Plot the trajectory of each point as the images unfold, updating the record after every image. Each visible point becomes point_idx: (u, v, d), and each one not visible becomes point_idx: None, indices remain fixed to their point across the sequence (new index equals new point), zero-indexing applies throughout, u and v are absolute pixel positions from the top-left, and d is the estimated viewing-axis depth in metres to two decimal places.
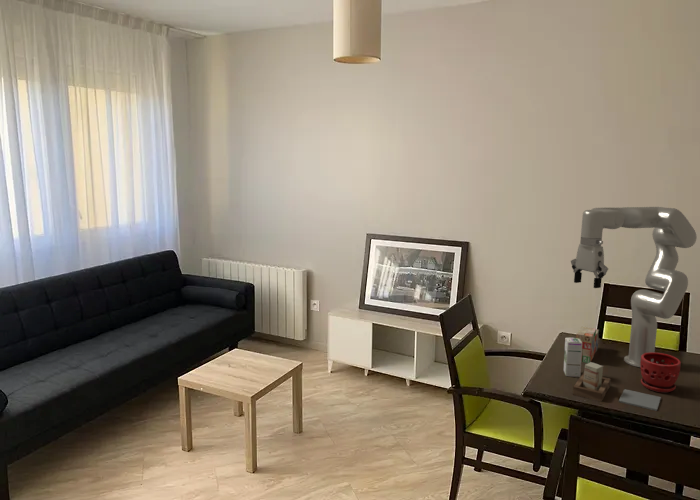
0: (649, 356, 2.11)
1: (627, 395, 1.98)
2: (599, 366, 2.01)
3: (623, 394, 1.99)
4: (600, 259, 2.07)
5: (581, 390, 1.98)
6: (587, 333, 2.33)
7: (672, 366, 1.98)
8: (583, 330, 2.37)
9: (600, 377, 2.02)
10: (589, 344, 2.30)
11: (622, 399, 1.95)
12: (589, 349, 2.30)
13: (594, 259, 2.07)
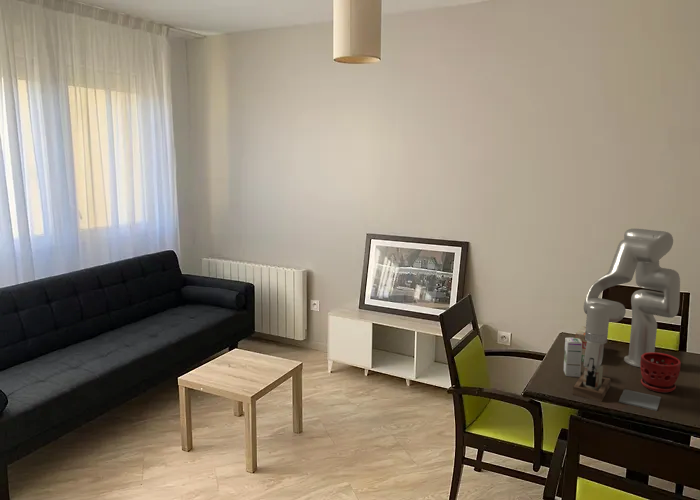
0: (649, 356, 2.11)
1: (627, 395, 1.98)
2: (599, 366, 2.01)
3: (623, 394, 1.99)
4: None
5: (581, 390, 1.98)
6: None
7: (672, 366, 1.98)
8: (582, 329, 2.38)
9: (600, 377, 2.02)
10: None
11: (622, 399, 1.95)
12: None
13: None
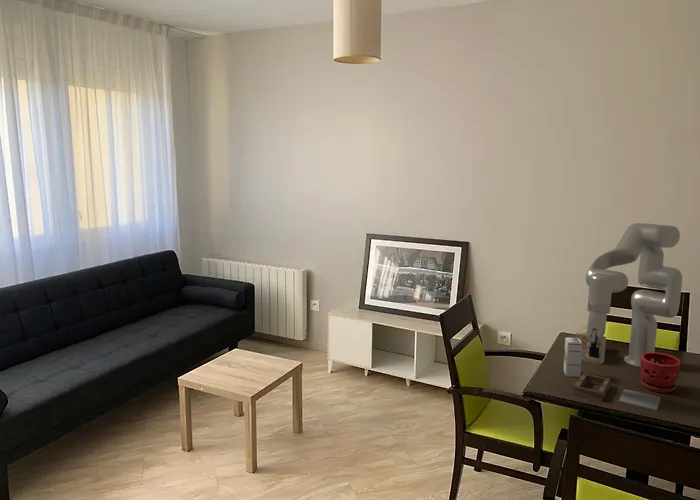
0: (649, 356, 2.11)
1: (627, 395, 1.98)
2: (602, 337, 2.00)
3: (623, 394, 1.99)
4: None
5: (581, 390, 1.98)
6: (586, 332, 2.34)
7: (672, 366, 1.98)
8: (582, 329, 2.38)
9: (603, 348, 2.00)
10: None
11: (622, 399, 1.95)
12: None
13: None
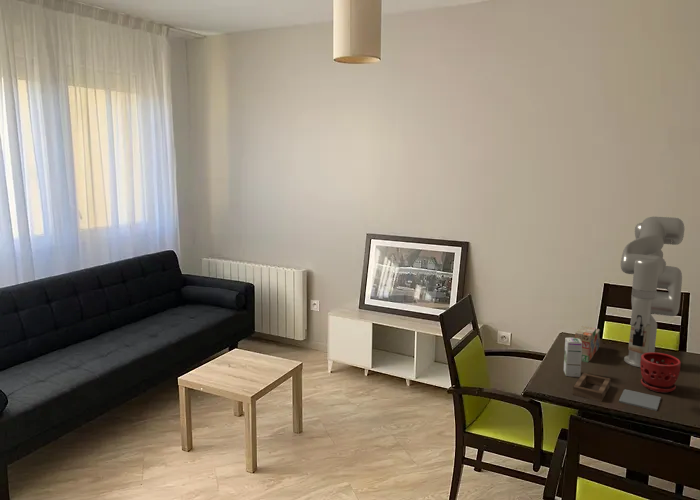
0: (649, 356, 2.11)
1: (627, 395, 1.98)
2: (647, 325, 1.91)
3: (623, 394, 1.99)
4: None
5: (581, 390, 1.98)
6: (586, 332, 2.34)
7: (672, 366, 1.98)
8: (582, 329, 2.38)
9: (648, 336, 1.91)
10: (588, 343, 2.31)
11: (622, 399, 1.95)
12: (588, 348, 2.31)
13: None
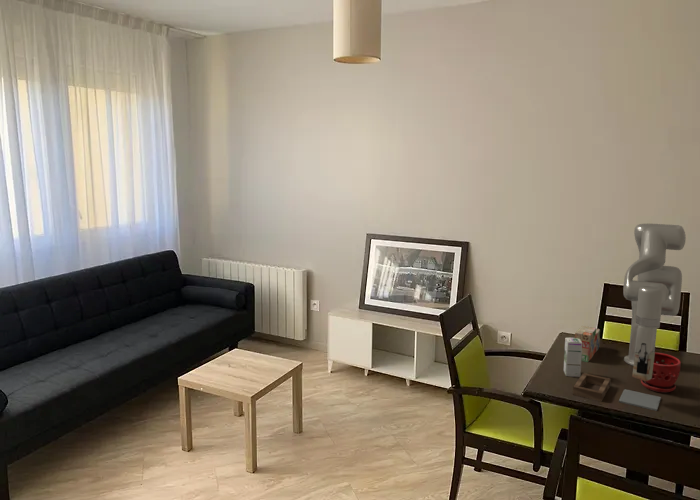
0: None
1: (627, 395, 1.98)
2: (651, 352, 1.92)
3: (623, 394, 1.99)
4: None
5: (581, 390, 1.98)
6: (586, 332, 2.34)
7: (672, 366, 1.98)
8: (582, 329, 2.38)
9: (652, 363, 1.92)
10: (587, 343, 2.31)
11: (622, 399, 1.95)
12: (587, 348, 2.32)
13: None
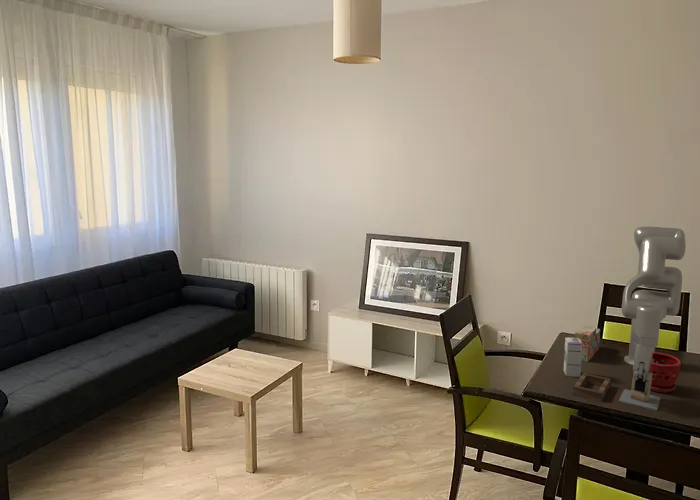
0: None
1: (627, 395, 1.98)
2: (648, 373, 1.93)
3: (623, 394, 1.99)
4: None
5: (581, 390, 1.98)
6: (586, 332, 2.34)
7: (672, 366, 1.98)
8: (582, 329, 2.39)
9: (650, 384, 1.93)
10: (587, 343, 2.32)
11: (622, 399, 1.95)
12: (587, 348, 2.32)
13: None
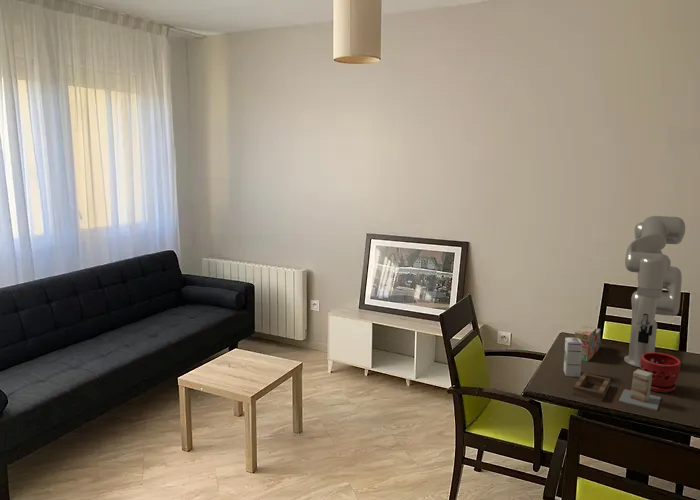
0: (649, 356, 2.11)
1: (627, 395, 1.98)
2: (648, 373, 1.93)
3: (623, 394, 1.99)
4: None
5: (581, 390, 1.98)
6: (586, 332, 2.35)
7: (672, 366, 1.98)
8: (582, 328, 2.39)
9: (649, 384, 1.93)
10: (587, 343, 2.32)
11: (622, 399, 1.95)
12: (587, 348, 2.32)
13: None
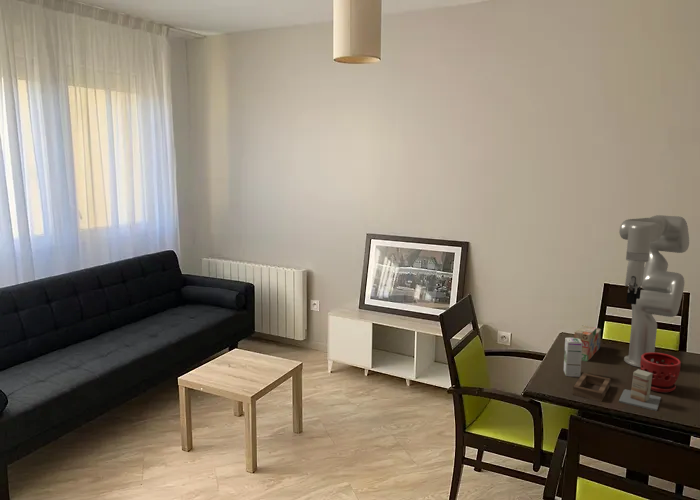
0: (649, 356, 2.11)
1: (627, 395, 1.98)
2: (648, 373, 1.93)
3: (623, 394, 1.99)
4: None
5: (581, 390, 1.98)
6: (585, 331, 2.35)
7: (672, 366, 1.98)
8: (582, 328, 2.39)
9: (649, 384, 1.93)
10: (587, 342, 2.32)
11: (622, 399, 1.95)
12: (587, 347, 2.33)
13: None
